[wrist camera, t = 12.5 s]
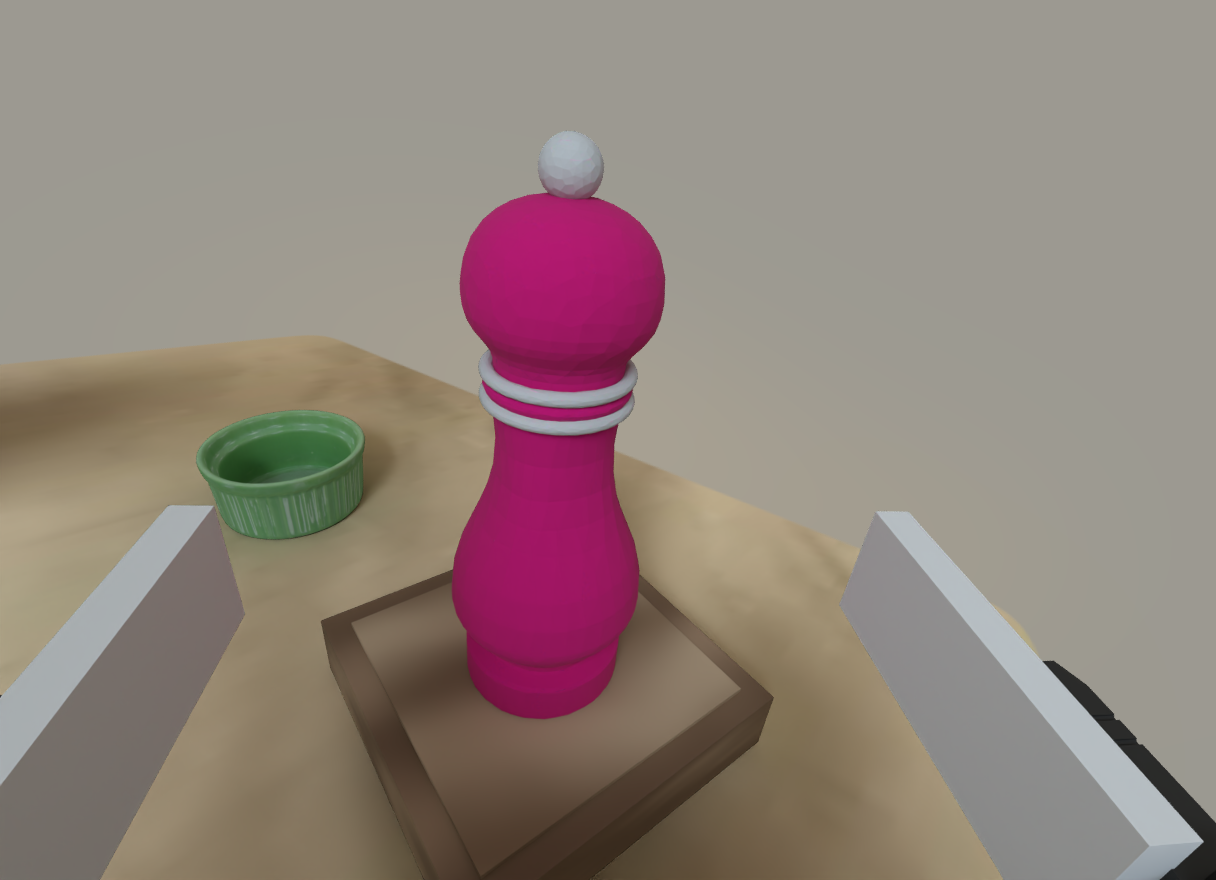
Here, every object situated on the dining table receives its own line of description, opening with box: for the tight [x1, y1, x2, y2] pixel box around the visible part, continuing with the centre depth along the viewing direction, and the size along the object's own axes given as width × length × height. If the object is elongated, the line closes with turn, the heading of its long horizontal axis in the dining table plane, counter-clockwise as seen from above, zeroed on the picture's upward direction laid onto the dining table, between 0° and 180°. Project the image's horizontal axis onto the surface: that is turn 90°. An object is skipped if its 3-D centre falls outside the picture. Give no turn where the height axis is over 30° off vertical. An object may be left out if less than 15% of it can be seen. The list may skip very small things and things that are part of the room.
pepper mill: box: [452, 131, 665, 719], centre depth 21 cm, size 7×7×20 cm
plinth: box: [321, 570, 774, 880], centre depth 26 cm, size 14×14×3 cm
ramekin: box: [196, 410, 365, 539], centre depth 37 cm, size 9×9×4 cm
